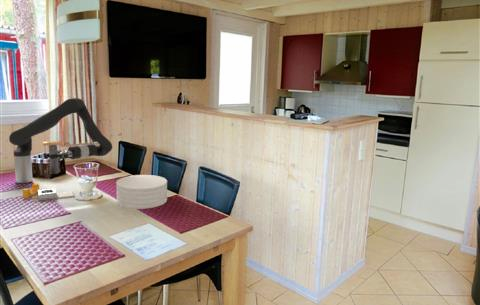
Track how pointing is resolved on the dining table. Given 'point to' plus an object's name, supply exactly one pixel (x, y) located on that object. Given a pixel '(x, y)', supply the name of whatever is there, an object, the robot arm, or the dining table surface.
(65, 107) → the robot arm
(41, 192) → the white flat block
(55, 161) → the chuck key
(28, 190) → the orange irregular block
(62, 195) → the rest pad
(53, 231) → the dining table surface
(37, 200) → the pale flat board
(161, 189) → the plate stack
